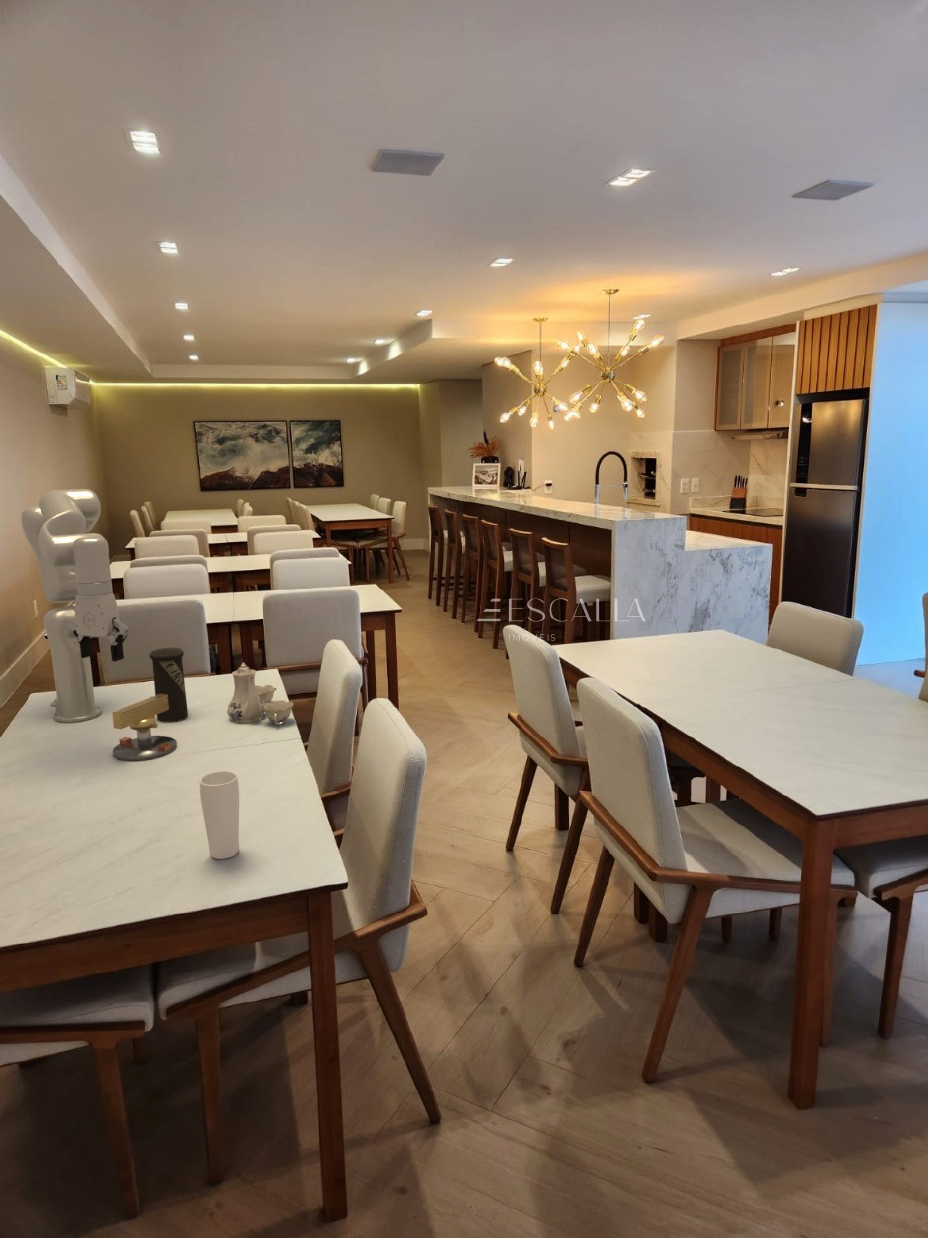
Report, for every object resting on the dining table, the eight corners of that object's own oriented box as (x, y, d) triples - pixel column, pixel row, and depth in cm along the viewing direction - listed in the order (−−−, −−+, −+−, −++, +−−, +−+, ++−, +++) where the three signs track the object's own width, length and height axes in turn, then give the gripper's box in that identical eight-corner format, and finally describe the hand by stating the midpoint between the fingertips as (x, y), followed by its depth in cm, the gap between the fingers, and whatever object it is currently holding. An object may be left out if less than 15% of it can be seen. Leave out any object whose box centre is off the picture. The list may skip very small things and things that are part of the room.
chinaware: (303, 730, 218) (306, 671, 216) (244, 736, 209) (246, 675, 206) (266, 704, 241) (268, 650, 238) (211, 709, 231) (213, 653, 229)
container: (178, 724, 219) (172, 653, 215) (149, 722, 221) (142, 652, 217) (195, 714, 228) (189, 646, 223) (166, 712, 229) (160, 644, 225)
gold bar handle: (105, 734, 193) (102, 711, 192) (152, 714, 208) (150, 692, 207) (132, 739, 190) (129, 715, 189) (179, 718, 205) (177, 695, 203)
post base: (99, 756, 196) (96, 733, 195) (144, 736, 210) (142, 714, 209) (146, 764, 191) (144, 741, 189) (189, 743, 204) (187, 721, 203)
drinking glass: (210, 845, 151) (203, 771, 148) (246, 843, 152) (241, 770, 149) (201, 863, 145) (195, 786, 141) (239, 861, 145) (233, 784, 142)
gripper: (54, 589, 189) (63, 659, 193) (110, 593, 183) (118, 665, 187) (80, 584, 196) (87, 652, 200) (135, 588, 190) (141, 657, 193)
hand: (102, 658), depth 193 cm, fingers open, 9 cm apart
